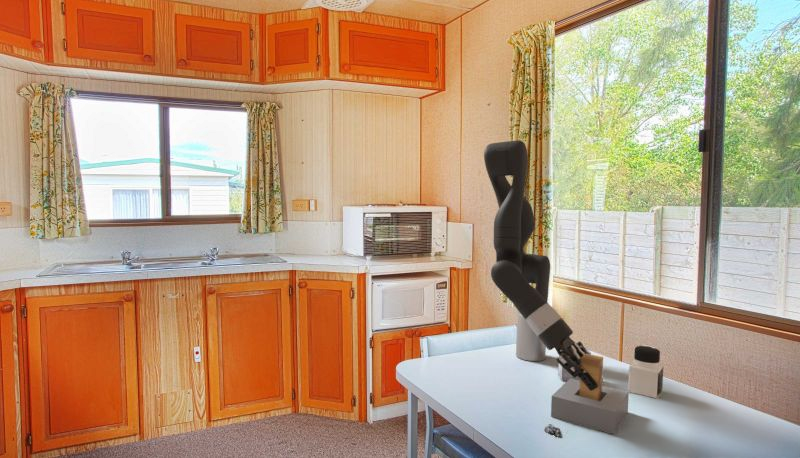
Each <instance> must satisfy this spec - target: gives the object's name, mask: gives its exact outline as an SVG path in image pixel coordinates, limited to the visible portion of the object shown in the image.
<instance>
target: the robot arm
mask: <svg viewBox="0 0 800 458" xmlns="http://www.w3.org/2000/svg"><path fill="white" fill-rule="evenodd" d="M483 152H484V153H483V160H484V161H483V162H484V165H485V169H486V173H487V175H488V178H489V180H490V184H491V186H492V188H493V191H494V194H495V197H496V202H497V204H498V210H497V212H496V215H495V217H494V221H493V248H494V250H495V253H496V254H495V256H496V257H495V258H496V260H495V263H494V264H493V265H492V267H491V270H490V277H491V280H492V281H493V283H494V284H495V286H496V287H497V289H499V290H500V292H501V293H502V294H503V295H505V297H506V298H507V299H508V300H509V301H510V302H511V303H512V304H513V305H514V306H515V308H516V309H517V310H516V311H517V312H516V313H517V314H516V338H515V339H516V340H515V341H516V343H515V344H516V345H515V356H516V357H517V358H518V359H520V360H524V361H530V362H540V361H544V360H545V359H546V353H547V352H546V349H547V350H549V351H552V350H553V349H555V351H556V354H557V355H558V357H556V358H555V360H556V362H557V363H558V365H559V364H560V365H561V366H562V367H563V368H564V369H565V370H566V371H568V372H569V373H570V374H571V375H572V376H573V377H574V378H575V377H578V378H580V379H581V380H582V381H583V382H584V384H585V385H586V386H587V387H588V388H589V390H591V391H592V390H594V389H595V388H597V387H598V384H597V383H596V382H595V380H594V379H593V378H592V377H591V375H590V374H589V373H588V372H587V370H586V369H585V368H584V366H583V365H582V361H581V357H583V356H584V355H585V354H589V353H588V352H587V350H586V349H585V348H586V347H585V346H584V344H583V343H582V342H581V341H580V340H578V342H575V341H574V340H573V339H572V338H571V337H570V336H572V335H573V333H574V331H573V330H572V328H571V327H570V326H569V324H567V323H566V321H565V320H564V319H563V318H562V316H561V315H560V314H559V313H558V312H557V310H556V309H555V308H553V307H552V306H551V305H550V303H549V302H548V297H549V285H550V276H551V275H550V274H551V263H550V259H549V257H548V256H547V255H543V254H542V255H541V254H533V253H532V254H531V253H526V252H525V250H524V249H525V246H526V244H527V243H528V241H529V239H530V238H531V236H532V235H533V232H534V231H535V229H536V228H535V227H536V221H535V216H534V211H533V207H532V205H531V203H530V202H529V201H528V199H526V197H525V190H526V181H527V175H528V174H527V173H528V167H529V166H528V164H529V163H528V162H529V160H528V157H529V155H528V149H527V146H526V144H525V142H524V141H523V140H508V141H500V142H493V143H489V144H487V145H486V146H485V147H484V150H483ZM509 176H512V182H511V183H510V182H509V180H508V179H507V177H509ZM531 284H535V287H534V286H532V285H531ZM571 369H572V370H573V371H572V370H571ZM602 382H604V379H603V377H602Z"/></svg>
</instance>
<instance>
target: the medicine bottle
mask: <svg viewBox="0 0 800 458" xmlns="http://www.w3.org/2000/svg"><path fill="white" fill-rule="evenodd" d="M660 356H661V352H660V350H659V349H658V348H656V347H655V346H651V345H645V344H644V345H636V346H635V347H634V355H633V357H634V360H633V362H632V363H630V365H629V367H628V368H629V369H628V382H627V383H628V384H627V385H628V386H627V392H629V393H632V394H637V395H640V396H645V397H649V398H654V399H658V398H659V396H660V395H661V393H662V391H663V381H664V365H663V364H660V362H661V361H660V360H661V359H660V358H661V357H660Z"/></svg>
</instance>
